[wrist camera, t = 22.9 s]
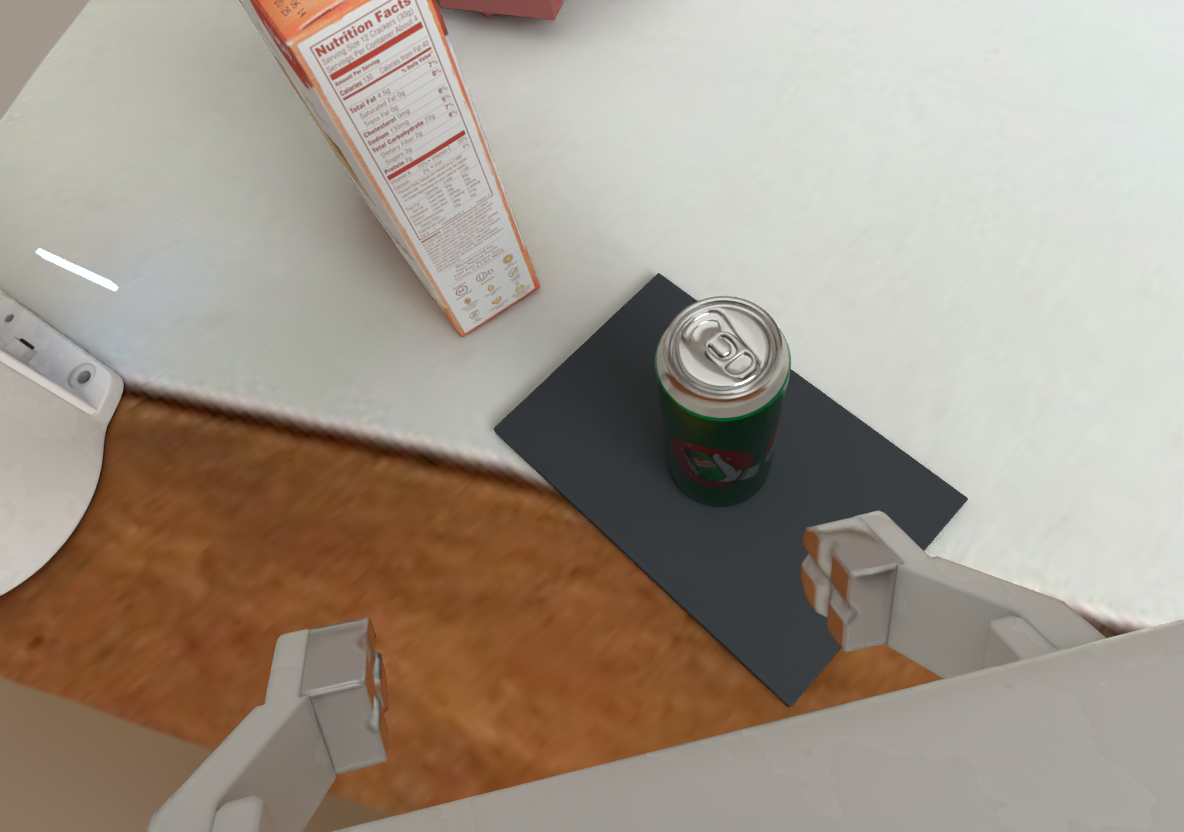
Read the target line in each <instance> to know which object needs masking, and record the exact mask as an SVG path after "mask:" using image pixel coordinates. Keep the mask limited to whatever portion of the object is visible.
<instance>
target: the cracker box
mask: <svg viewBox="0 0 1184 832" xmlns="http://www.w3.org/2000/svg"><path fill="white" fill-rule="evenodd" d="M239 1H240V3H241V4H242V6H243V8H244V9H245V11H246V12H247V14H248V16H249V17H250V19H251V20H252V22H253V23H254V25H255V27H256V28H257V30H258V31H259V33H260V35H261V36H262V38H263V39H264V41H265V43H266V44H267V46H268V47H269V49H270V51H271V52H272V54H273V55H274V57H275V59H276V60H277V62H278V63H279V65H280V66H281V68H282V70H283V71H284V73H285V74H286V76H287V78H288V79H289V81H290V82H291V84H292V85H293V87H294V89H295V90H296V92H297V93H298V95H299V97H300V98H301V100H302V101H303V103H304V104H305V106H306V108H307V109H308V111H309V112H310V114H311V116H312V117H313V119H314V120H315V122H316V123H317V125H318V127H319V128H320V130H321V131H322V133H323V134H324V136H325V138H326V139H327V141H328V142H329V144H330V146H331V147H332V149H333V150H334V152H335V154H336V155H337V157H338V158H339V160H340V162H341V163H342V165H343V167H344V168H345V170H346V171H347V173H348V175H349V176H350V178H351V179H352V181H353V182H354V184H355V186H356V187H357V189H358V190H359V192H360V193H361V195H362V196H363V198H364V199H365V201H366V203H367V204H368V206H369V207H370V209H371V210H372V212H373V213H374V215H375V216H376V218H377V219H378V221H379V222H380V223H381V225H382V226H383V228H384V229H385V231H386V232H387V234H388V235H389V237H390V238H391V240H392V241H393V242H394V244H395V245H396V247H397V248H398V250H399V251H400V253H401V254H402V256H403V257H404V258H405V260H406V261H407V263H408V264H409V266H410V267H411V268H412V270H413V271H414V273H415V274H416V275H417V277H418V278H419V280H420V281H421V282H422V284H423V285H424V287H425V288H426V289H427V291H428V292H429V293H430V295H431V296H432V298H433V299H434V300H435V302H436V303H437V304H438V306H439V307H440V308H441V310H442V311H443V313H444V314H445V315H446V317H447V318H448V319H449V321H450V322H451V323H452V325H453V326H454V327H455V329H456V330H457V332H458V333H459V334H460V336H465V335H466V334H468V333H470V332H471V331H473V330H474V329H476V328H477V327H479V326H480V325H482V324H484V323H485V322H487V321H488V320H490V319H491V318H493V317H495V316H496V315H498V314H499V313H501V312H502V311H504V310H505V309H507V308H509V307H510V306H512V305H513V304H515V303H516V302H518V301H519V300H521V299H523V298H524V297H526V296H527V295H529V294H530V293H532V292H534V291H535V290H537V289H538V288H540V284H539V282H538V279H537V277H536V274H535V272H534V269H533V266H532V263H531V261H530V258H529V255H528V252H527V249H526V247H525V244H524V241H523V239H522V236H521V233H520V231H519V228H518V225H517V223H516V220H515V217H514V215H513V212H512V209H511V206H510V204H509V201H508V198H507V195H506V192H505V190H504V187H503V184H502V181H501V179H500V176H499V173H498V170H497V168H496V165H495V162H494V159H493V156H492V154H491V151H490V148H489V146H488V143H487V140H486V137H485V135H484V132H483V129H482V126H481V124H480V121H479V118H478V115H477V113H476V110H475V107H474V104H473V102H472V99H471V96H470V93H469V91H468V88H467V85H466V82H465V79H464V77H463V74H462V71H461V68H460V65H459V62H458V60H457V57H456V54H455V51H454V48H453V46H452V43H451V40H450V37H449V35H448V32H447V29H446V26H445V23H444V21H443V18H442V15H441V13H440V10H439V7H438V4H437V1H436V0H239Z"/></svg>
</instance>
